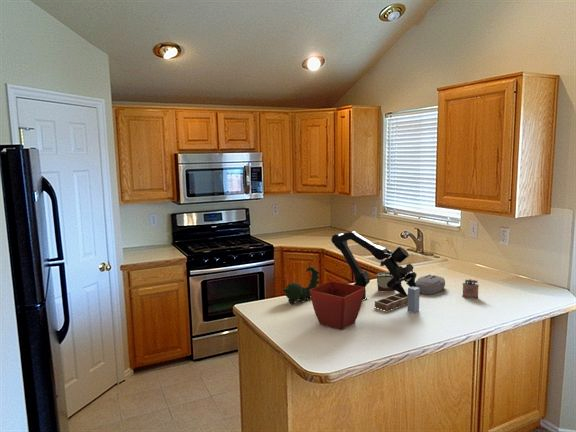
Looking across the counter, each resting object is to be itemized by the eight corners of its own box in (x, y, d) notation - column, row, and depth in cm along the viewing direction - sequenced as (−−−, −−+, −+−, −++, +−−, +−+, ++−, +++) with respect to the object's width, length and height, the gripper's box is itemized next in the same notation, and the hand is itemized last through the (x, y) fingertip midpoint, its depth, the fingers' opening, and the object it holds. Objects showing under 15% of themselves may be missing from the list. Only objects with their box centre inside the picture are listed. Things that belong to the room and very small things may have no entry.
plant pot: (331, 312, 211) (331, 280, 208) (365, 321, 199) (365, 286, 196) (309, 324, 196) (308, 289, 194) (344, 334, 184) (343, 297, 182)
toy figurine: (310, 296, 240) (276, 303, 224) (312, 264, 239) (278, 268, 222) (321, 300, 233) (288, 307, 217) (323, 267, 232) (289, 271, 215)
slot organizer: (386, 311, 210) (386, 305, 209) (374, 307, 216) (374, 301, 215) (411, 302, 223) (411, 295, 223) (399, 298, 229) (399, 292, 229)
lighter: (461, 297, 229) (462, 279, 228) (462, 295, 232) (463, 278, 230) (478, 299, 225) (478, 281, 224) (478, 297, 228) (479, 279, 227)
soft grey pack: (424, 283, 255) (409, 292, 240) (424, 270, 254) (409, 277, 239) (449, 288, 245) (434, 297, 230) (449, 274, 244) (435, 282, 229)
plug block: (414, 313, 207) (414, 289, 206) (407, 310, 211) (407, 287, 209) (419, 311, 210) (419, 288, 208) (412, 309, 213) (412, 286, 211)
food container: (395, 288, 246) (395, 272, 245) (397, 291, 240) (397, 275, 239) (374, 288, 248) (374, 271, 246) (375, 291, 241) (375, 274, 240)
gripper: (391, 262, 206) (410, 289, 199) (413, 256, 218) (432, 281, 211) (378, 275, 213) (396, 301, 206) (400, 268, 225) (418, 292, 218)
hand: (411, 293), depth 210 cm, fingers open, 9 cm apart
